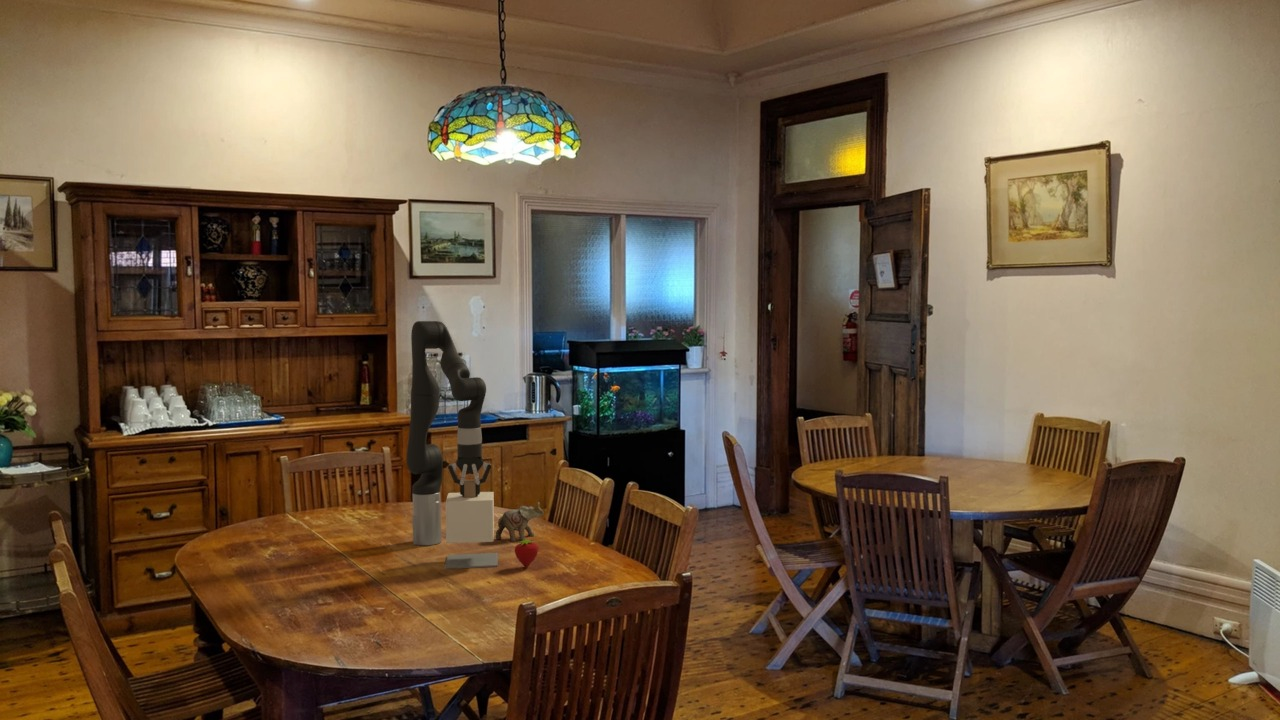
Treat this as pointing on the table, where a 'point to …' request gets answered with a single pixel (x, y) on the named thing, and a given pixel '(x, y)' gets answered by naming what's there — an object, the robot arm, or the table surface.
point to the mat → (472, 560)
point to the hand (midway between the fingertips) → (470, 495)
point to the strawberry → (526, 551)
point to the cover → (470, 516)
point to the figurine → (518, 522)
